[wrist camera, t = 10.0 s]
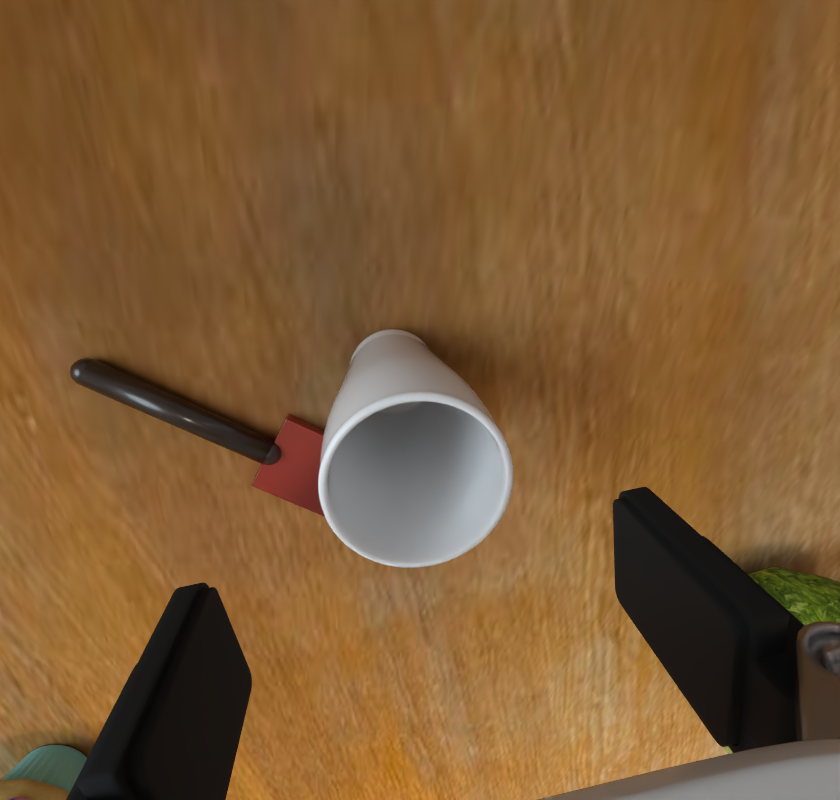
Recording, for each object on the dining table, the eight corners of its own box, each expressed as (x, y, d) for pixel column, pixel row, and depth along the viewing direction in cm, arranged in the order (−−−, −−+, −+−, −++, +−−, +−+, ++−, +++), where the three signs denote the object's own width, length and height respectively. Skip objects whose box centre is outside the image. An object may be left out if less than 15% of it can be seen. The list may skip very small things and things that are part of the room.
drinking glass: (456, 327, 30) (541, 410, 15) (432, 426, 32) (488, 581, 17) (347, 305, 28) (332, 373, 14) (329, 410, 30) (301, 561, 16)
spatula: (66, 399, 28) (49, 408, 27) (96, 323, 27) (80, 328, 26) (367, 527, 33) (367, 540, 32) (403, 467, 32) (405, 479, 31)
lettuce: (696, 844, 41) (927, 917, 34) (696, 714, 29) (1044, 788, 23) (684, 678, 51) (859, 710, 45) (680, 533, 39) (916, 548, 33)
